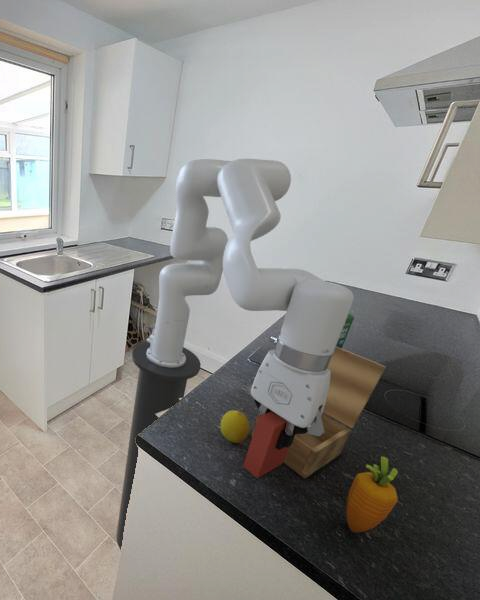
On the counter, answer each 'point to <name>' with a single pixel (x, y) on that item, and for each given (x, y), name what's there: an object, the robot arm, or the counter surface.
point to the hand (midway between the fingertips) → (272, 438)
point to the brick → (265, 445)
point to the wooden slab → (350, 385)
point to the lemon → (234, 426)
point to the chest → (315, 447)
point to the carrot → (371, 497)
